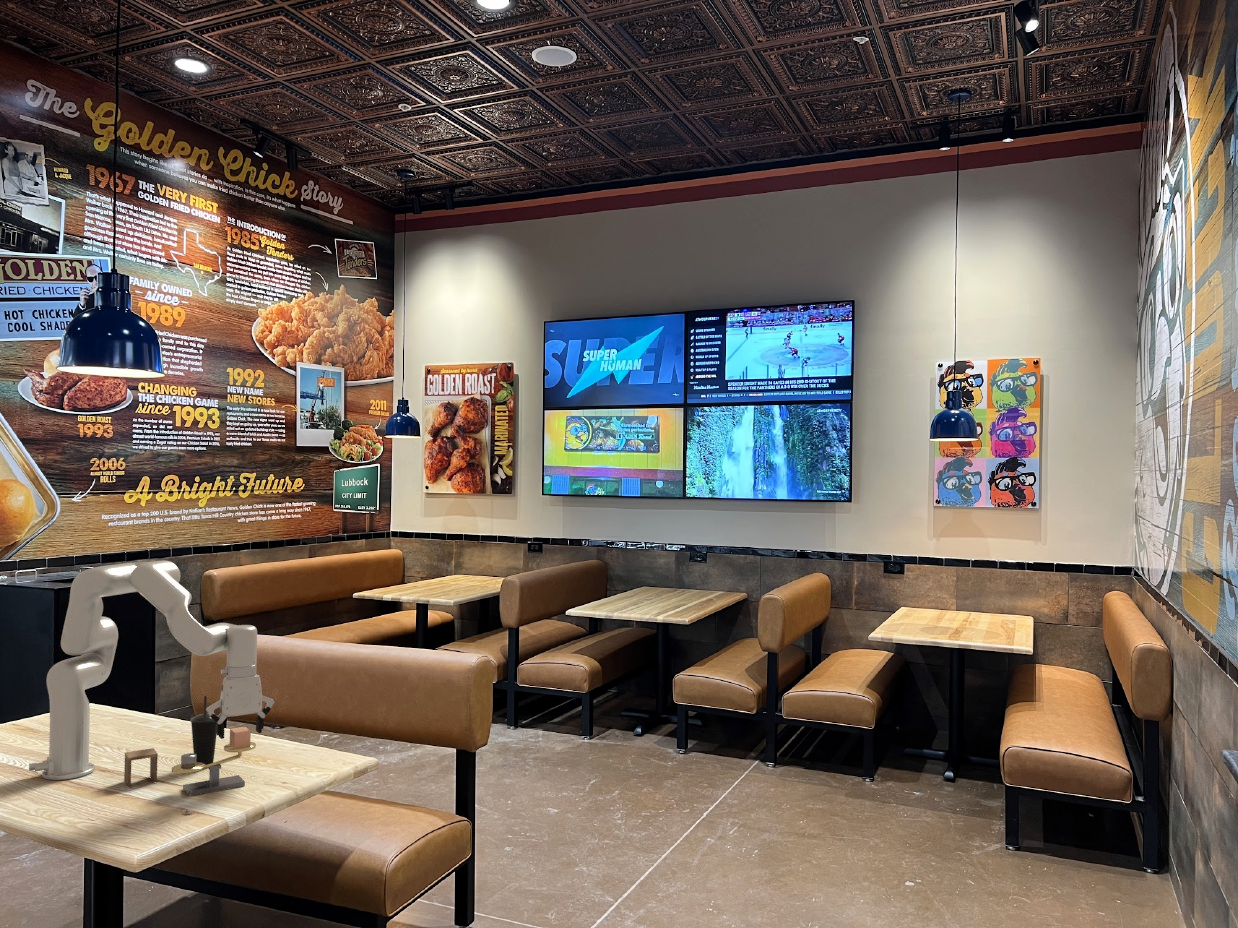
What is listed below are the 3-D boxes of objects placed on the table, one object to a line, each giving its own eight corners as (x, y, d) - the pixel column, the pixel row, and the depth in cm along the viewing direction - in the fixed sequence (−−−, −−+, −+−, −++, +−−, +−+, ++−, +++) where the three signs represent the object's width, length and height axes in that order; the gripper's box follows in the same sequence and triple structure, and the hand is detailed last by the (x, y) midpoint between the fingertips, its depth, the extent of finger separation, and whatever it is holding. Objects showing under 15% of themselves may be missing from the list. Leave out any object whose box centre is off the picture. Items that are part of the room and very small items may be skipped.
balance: (174, 799, 233) (175, 760, 233) (168, 790, 239) (169, 752, 239) (258, 784, 245) (259, 746, 245) (250, 776, 252) (251, 739, 252)
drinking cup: (207, 770, 256) (208, 699, 256) (183, 768, 257) (184, 697, 258) (224, 762, 263) (225, 693, 264) (200, 760, 265) (202, 691, 265)
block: (235, 733, 244) (229, 728, 248) (234, 748, 244) (229, 743, 248) (250, 731, 246) (245, 726, 250) (250, 745, 246) (245, 740, 250)
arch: (127, 787, 242) (128, 757, 242) (124, 781, 246) (124, 752, 246) (156, 782, 246) (157, 753, 246) (152, 776, 250) (153, 747, 251)
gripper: (210, 677, 238) (209, 743, 238) (278, 670, 249) (277, 733, 248) (204, 672, 244) (202, 736, 244) (270, 665, 255) (269, 726, 254)
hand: (240, 734), depth 246 cm, fingers open, 9 cm apart
